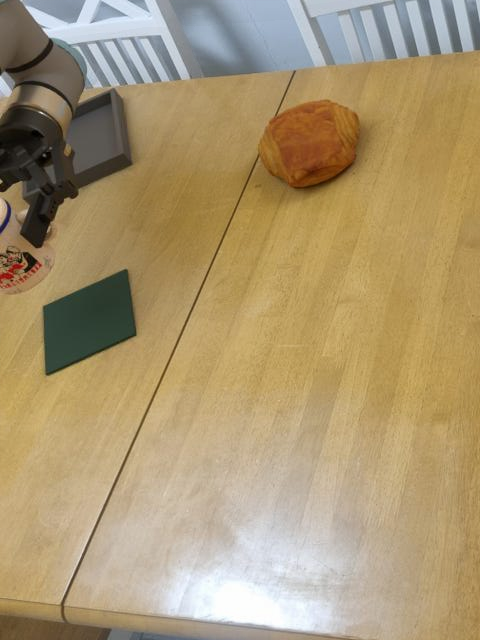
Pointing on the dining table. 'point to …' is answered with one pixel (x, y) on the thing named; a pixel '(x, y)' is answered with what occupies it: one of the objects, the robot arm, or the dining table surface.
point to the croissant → (310, 142)
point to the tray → (93, 141)
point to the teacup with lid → (22, 253)
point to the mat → (88, 321)
